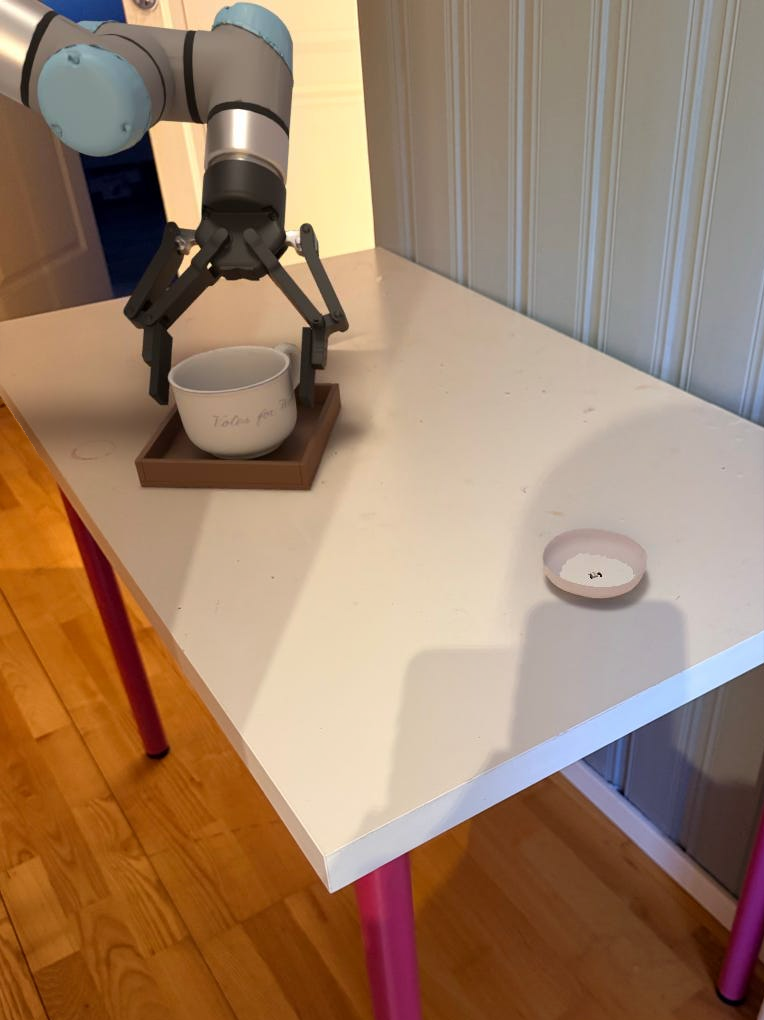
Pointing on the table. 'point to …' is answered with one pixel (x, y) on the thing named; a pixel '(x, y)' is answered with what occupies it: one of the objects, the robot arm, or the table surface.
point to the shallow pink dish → (593, 544)
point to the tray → (284, 468)
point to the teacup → (238, 398)
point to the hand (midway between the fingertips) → (232, 401)
